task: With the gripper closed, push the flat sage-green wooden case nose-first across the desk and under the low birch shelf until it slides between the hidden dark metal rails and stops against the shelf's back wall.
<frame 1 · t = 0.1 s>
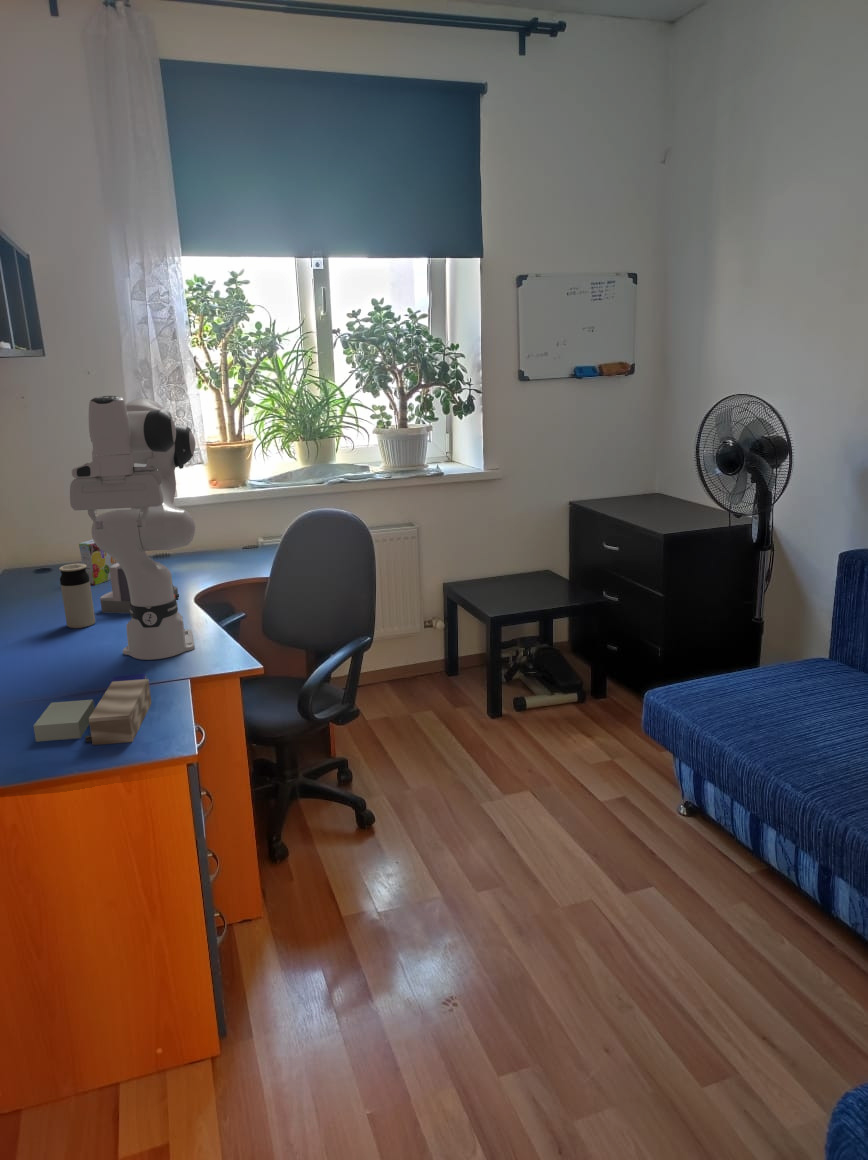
hand: (120, 528, 197), 39 cm above the table, tool pointing down, fingers open, 8 cm apart
hard drive: (127, 690, 205), on the table
case: (67, 729, 184), on the table
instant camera: (142, 605, 273), on the table
snack box: (113, 577, 307), on the table
low shelf: (119, 723, 185), on the table
travel mug: (81, 625, 254), on the table
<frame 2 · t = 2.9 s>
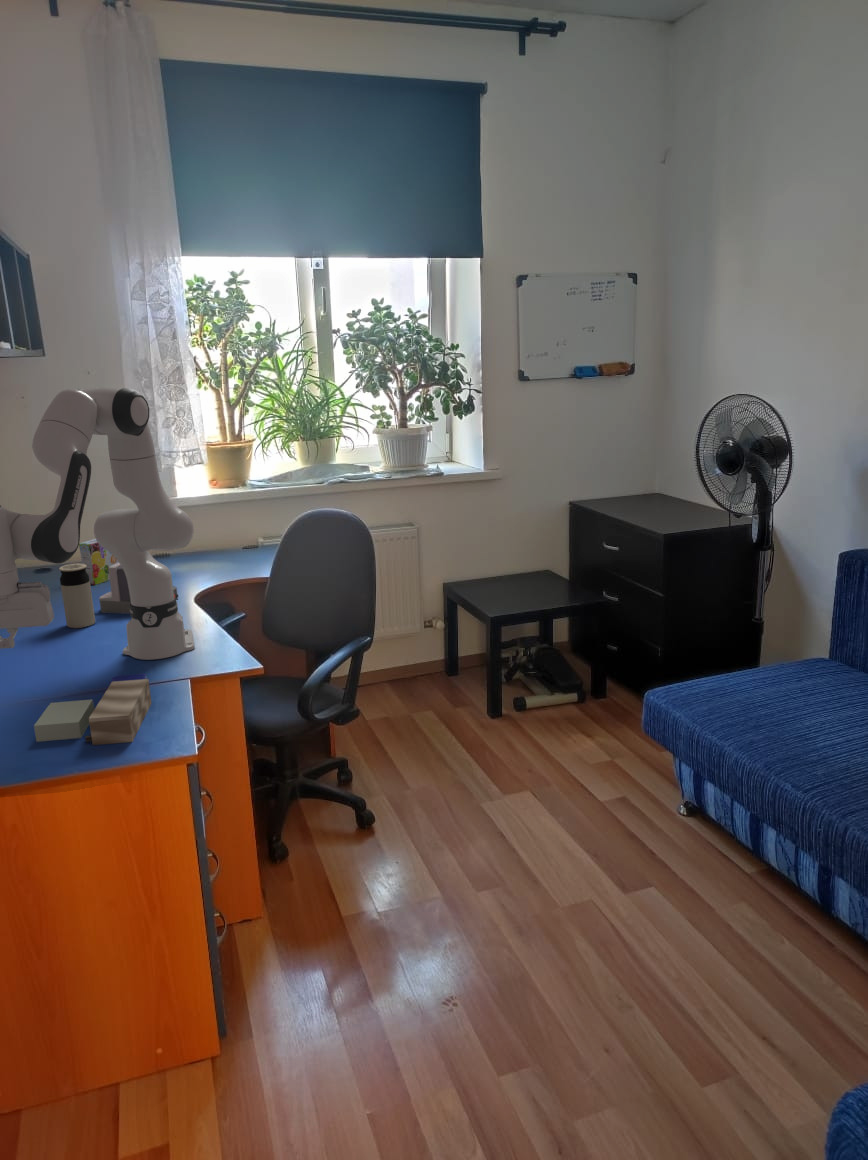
hand: (6, 647, 178), 19 cm above the table, tool pointing down, fingers closed
nothing on the table moved.
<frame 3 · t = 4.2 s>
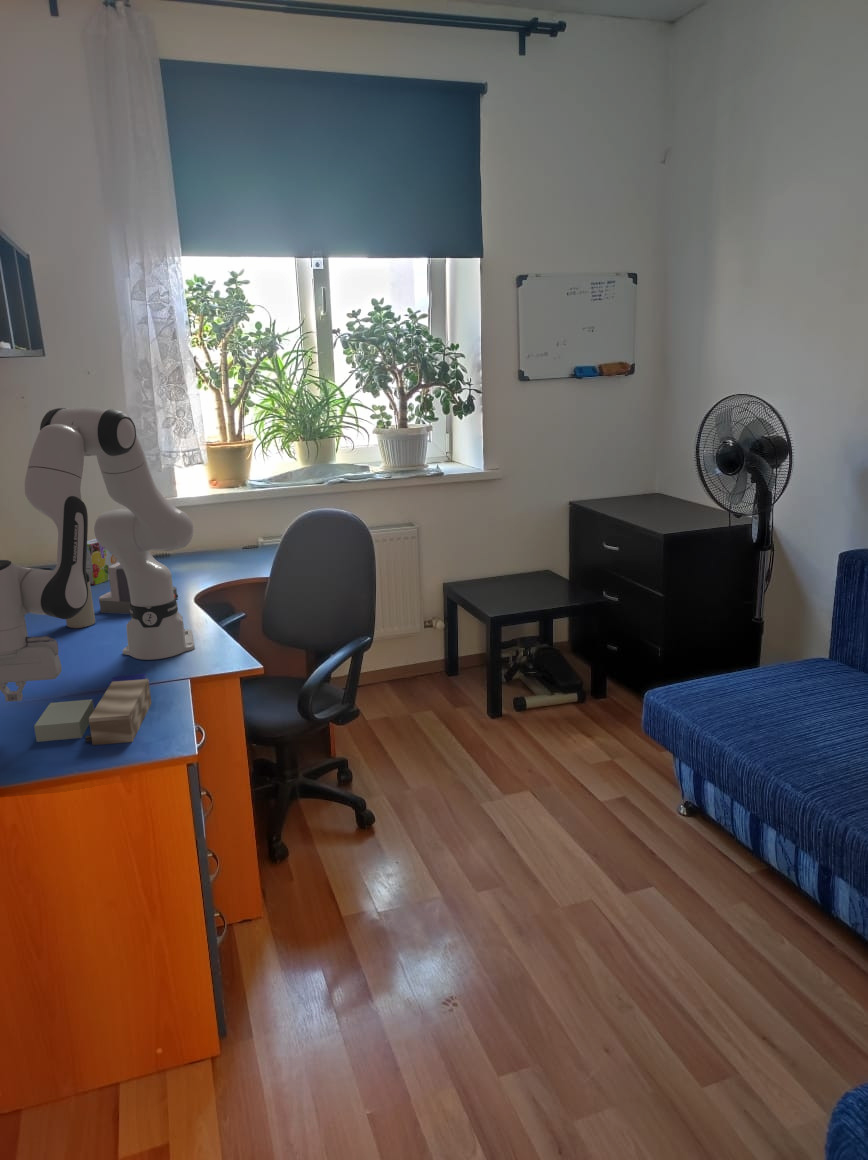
hand: (14, 700, 180), 7 cm above the table, tool pointing down, fingers closed
nothing on the table moved.
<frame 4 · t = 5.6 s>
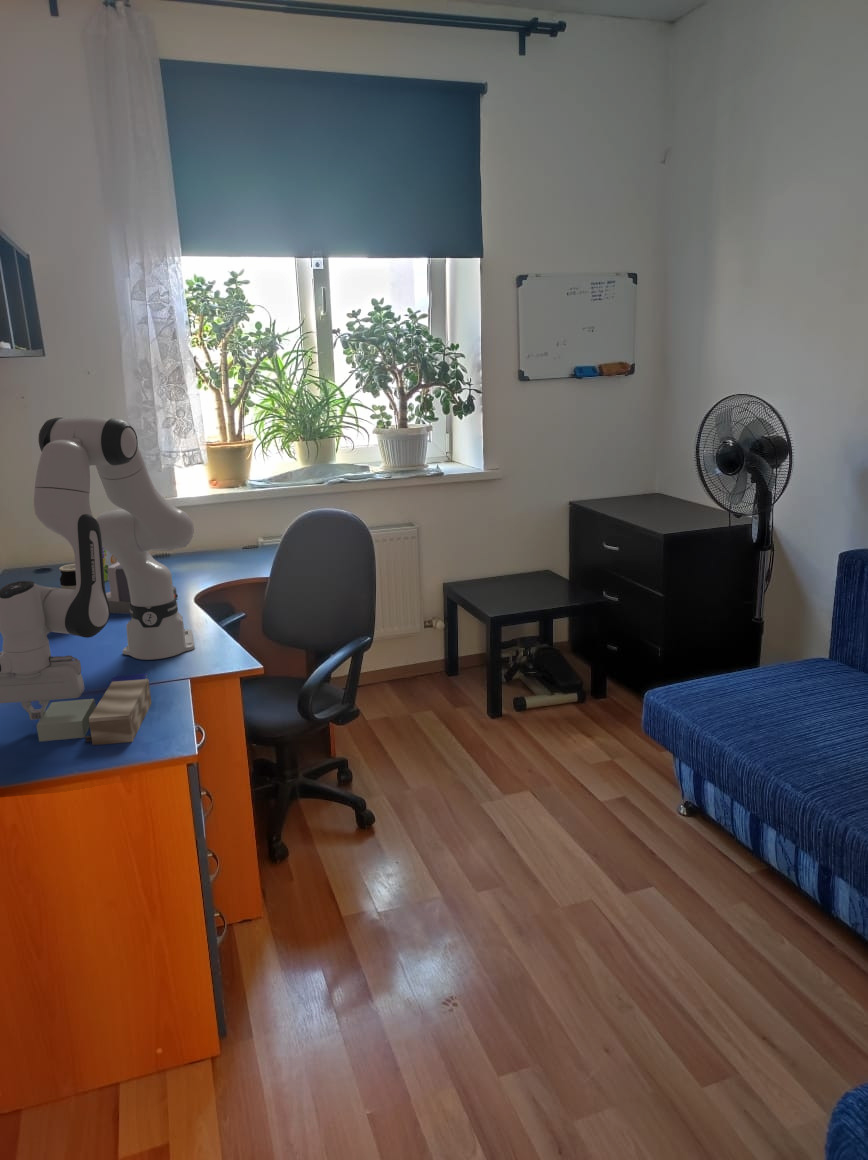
hand: (38, 718, 183), 3 cm above the table, tool pointing down, fingers closed
case: (69, 728, 184), on the table, touching gripper
everything else where it was.
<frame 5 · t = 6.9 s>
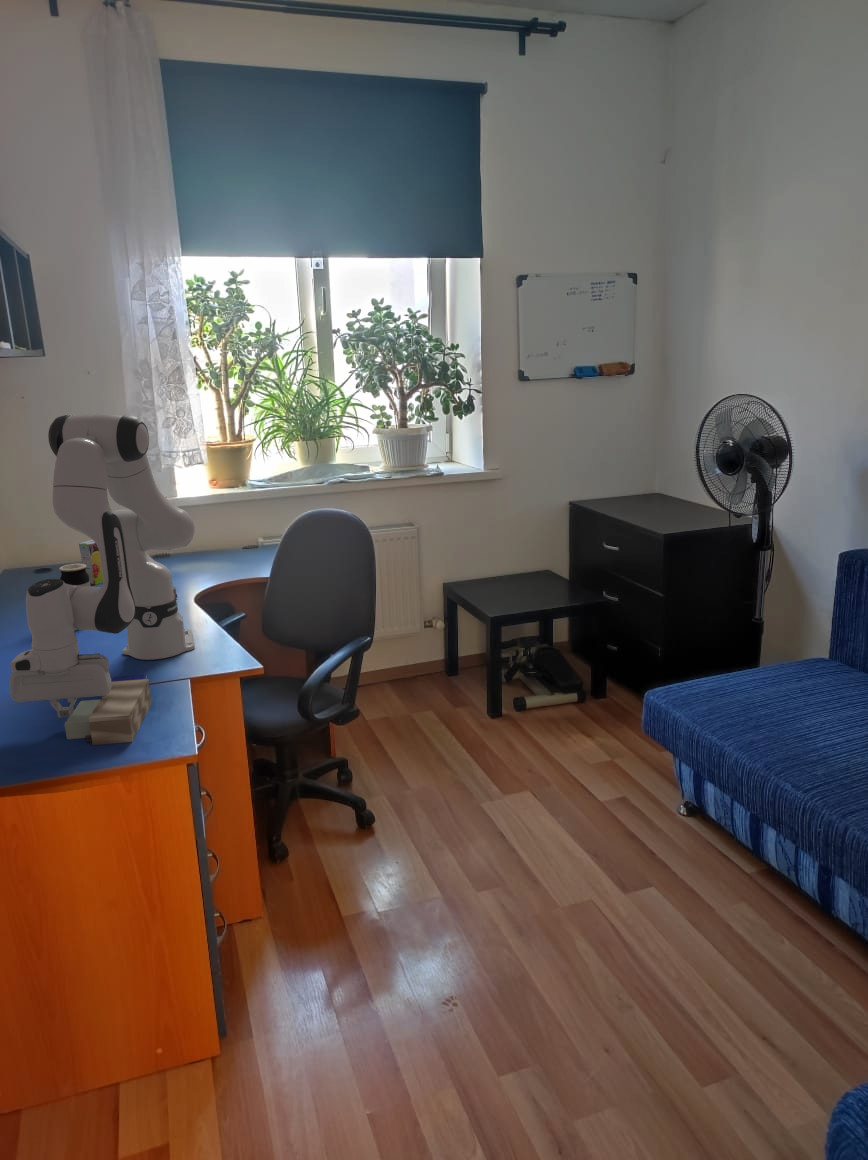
hand: (66, 716, 183), 3 cm above the table, tool pointing down, fingers closed
case: (96, 727, 185), on the table
everything else where it was.
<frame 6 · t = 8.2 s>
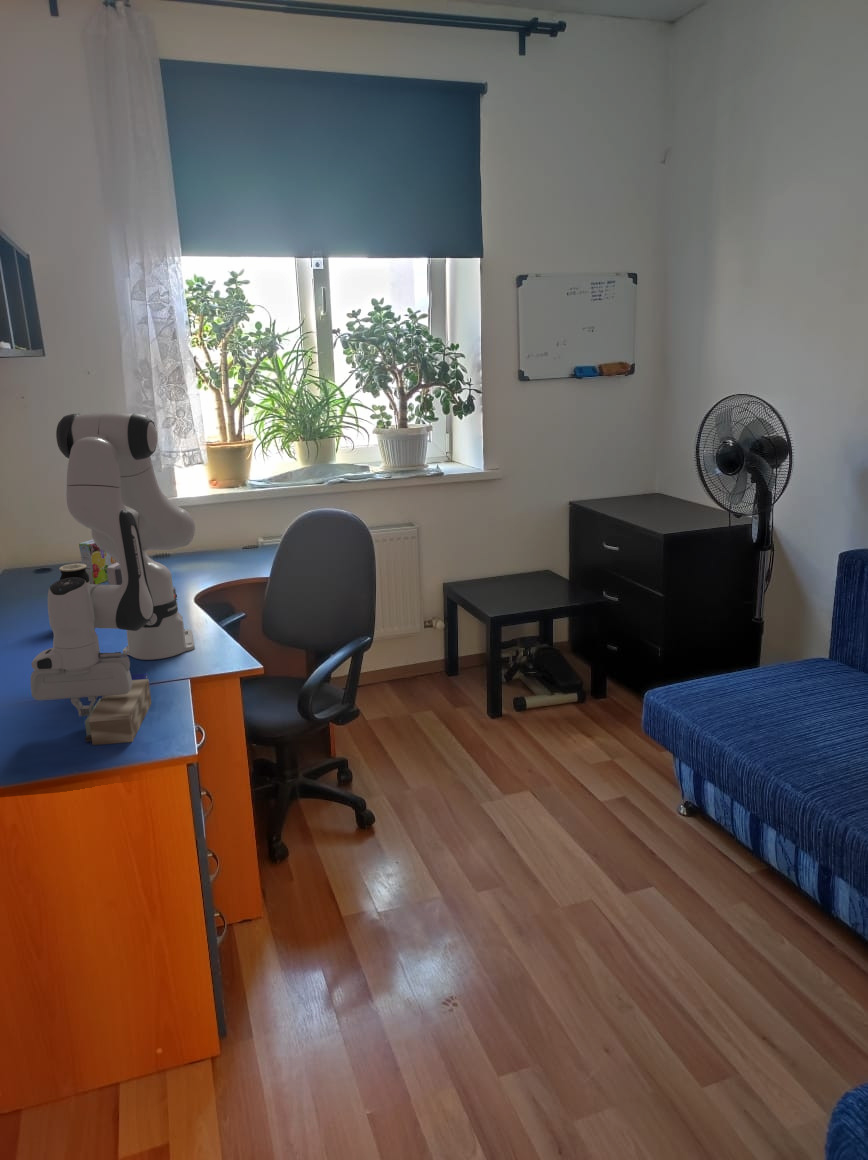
hand: (86, 714, 184), 3 cm above the table, tool pointing down, fingers closed
case: (116, 725, 185), on the table, touching gripper
everything else where it was.
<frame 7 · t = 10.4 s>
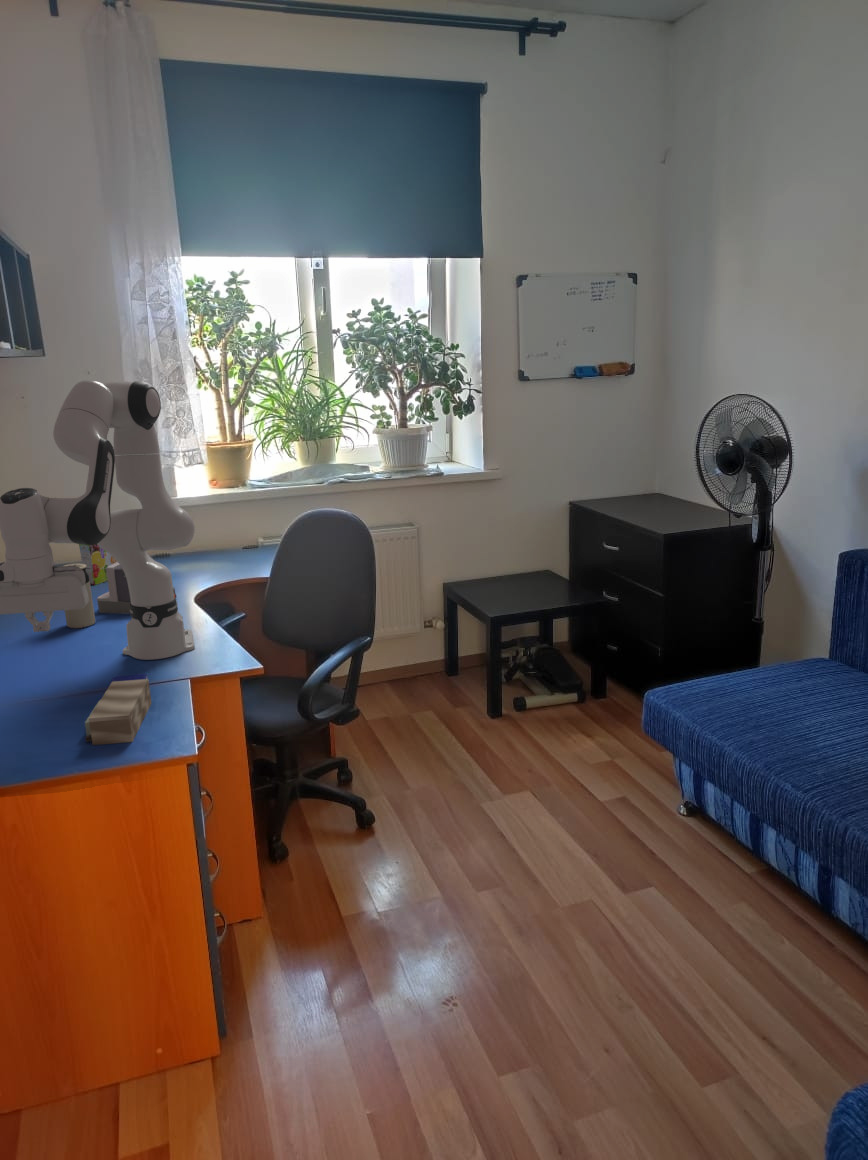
hand: (42, 630, 180), 22 cm above the table, tool pointing down, fingers closed
case: (116, 726, 185), on the table
everything else where it was.
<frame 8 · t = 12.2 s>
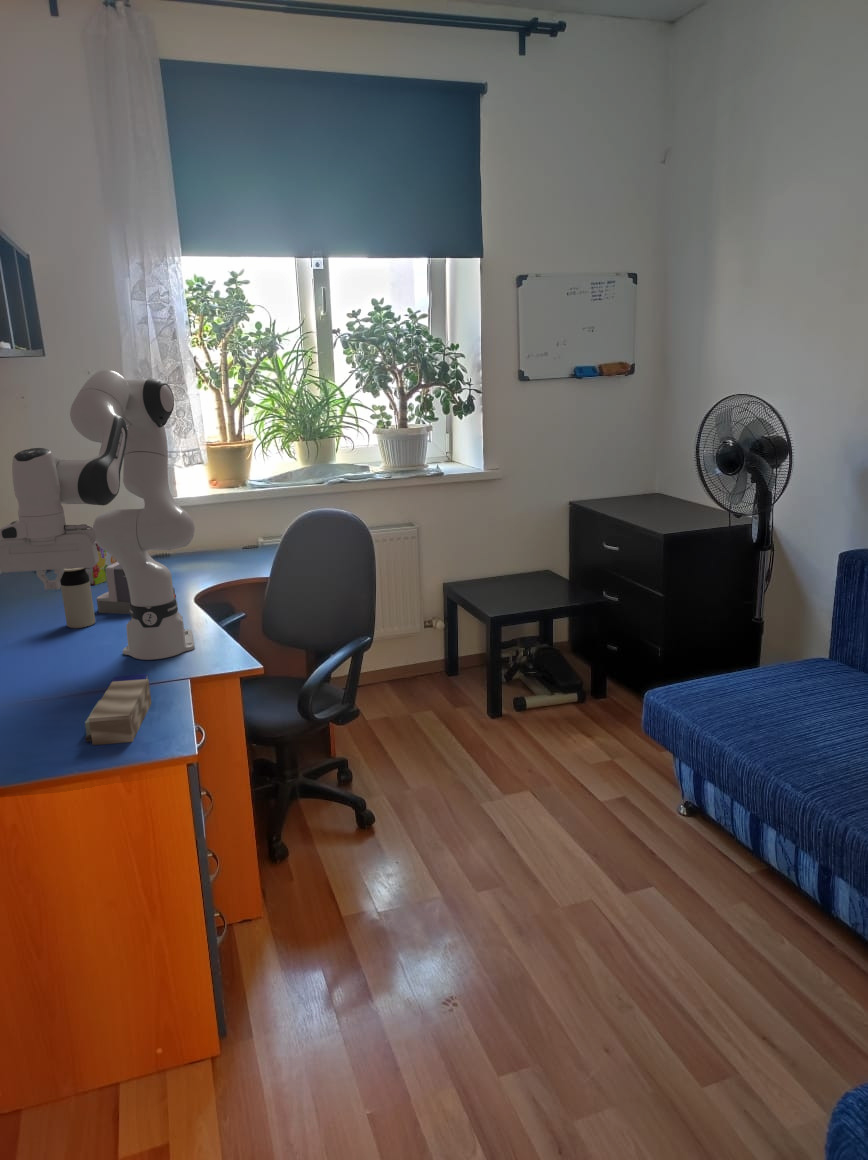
hand: (53, 588, 184), 29 cm above the table, tool pointing down, fingers closed
at the end: case 0.6 cm from the target spot, on the table; case tilted 0° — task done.
